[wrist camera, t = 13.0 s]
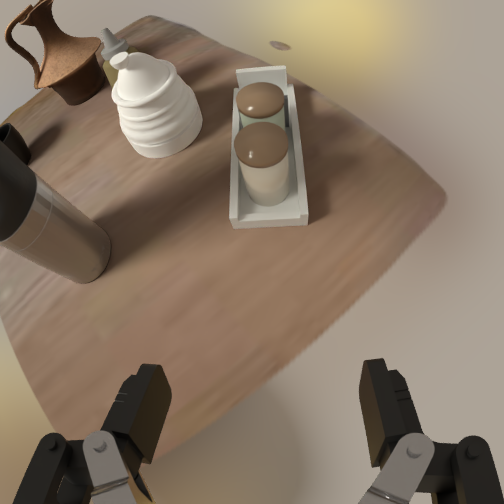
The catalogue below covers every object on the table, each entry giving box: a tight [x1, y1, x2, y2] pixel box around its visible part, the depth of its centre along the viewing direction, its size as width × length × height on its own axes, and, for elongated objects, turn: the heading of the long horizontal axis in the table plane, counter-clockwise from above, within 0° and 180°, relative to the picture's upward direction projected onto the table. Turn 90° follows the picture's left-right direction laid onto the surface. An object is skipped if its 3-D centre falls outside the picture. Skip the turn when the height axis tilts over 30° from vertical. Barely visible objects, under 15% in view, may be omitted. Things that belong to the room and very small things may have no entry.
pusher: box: [237, 95, 289, 128], centre depth 43 cm, size 5×7×6 cm
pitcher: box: [5, 0, 105, 105], centre depth 46 cm, size 18×17×28 cm
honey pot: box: [110, 52, 203, 158], centre depth 41 cm, size 13×13×18 cm
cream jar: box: [234, 122, 289, 207], centre depth 37 cm, size 6×6×10 cm
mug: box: [0, 123, 31, 165], centre depth 49 cm, size 8×12×10 cm
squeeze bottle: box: [101, 28, 138, 89], centre depth 45 cm, size 8×8×18 cm
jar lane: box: [229, 66, 308, 229], centre depth 42 cm, size 24×10×7 cm, turn 1°
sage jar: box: [236, 82, 285, 131], centre depth 40 cm, size 6×6×10 cm
